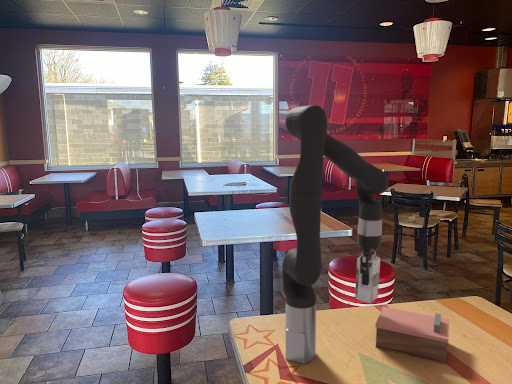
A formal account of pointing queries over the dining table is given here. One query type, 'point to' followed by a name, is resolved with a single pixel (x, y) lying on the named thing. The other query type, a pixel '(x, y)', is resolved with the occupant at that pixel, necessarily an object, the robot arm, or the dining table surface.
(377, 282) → the syrup box
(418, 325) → the toolbox lid
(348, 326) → the dining table surface
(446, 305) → the dining table surface
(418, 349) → the toolbox
